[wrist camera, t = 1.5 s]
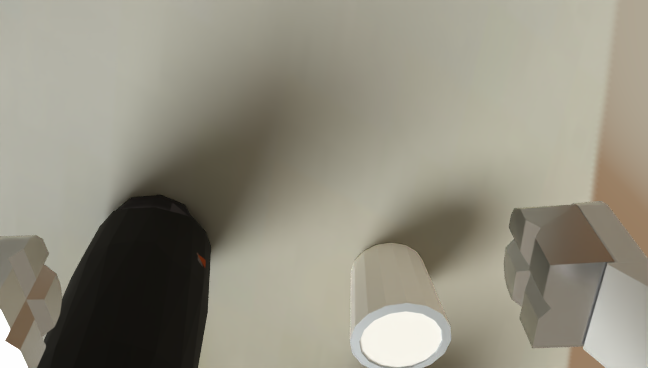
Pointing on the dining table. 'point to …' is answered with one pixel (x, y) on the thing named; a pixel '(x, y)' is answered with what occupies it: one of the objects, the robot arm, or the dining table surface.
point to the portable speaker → (136, 292)
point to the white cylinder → (395, 310)
